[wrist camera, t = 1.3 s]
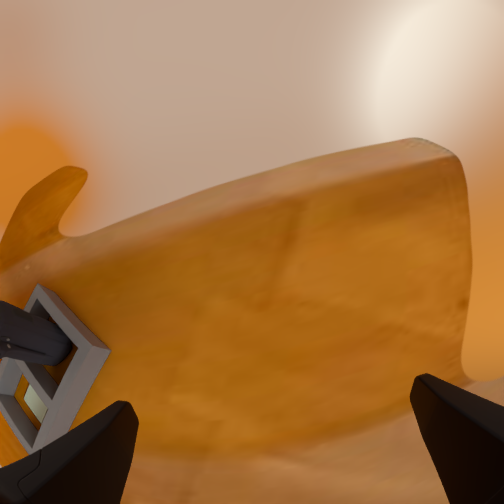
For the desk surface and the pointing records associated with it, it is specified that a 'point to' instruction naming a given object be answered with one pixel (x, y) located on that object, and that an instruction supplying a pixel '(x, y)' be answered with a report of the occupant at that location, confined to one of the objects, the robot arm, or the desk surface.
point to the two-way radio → (31, 337)
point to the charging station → (42, 384)
